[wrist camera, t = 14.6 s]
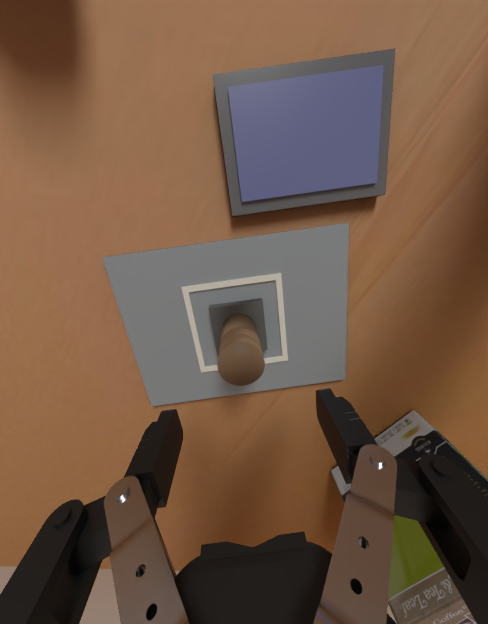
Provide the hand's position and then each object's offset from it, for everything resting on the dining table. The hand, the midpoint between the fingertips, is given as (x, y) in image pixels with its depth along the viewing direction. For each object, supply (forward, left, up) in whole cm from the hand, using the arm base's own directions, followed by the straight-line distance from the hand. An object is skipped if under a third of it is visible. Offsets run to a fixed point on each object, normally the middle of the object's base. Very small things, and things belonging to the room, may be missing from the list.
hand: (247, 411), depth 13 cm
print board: (0, 0, -13) cm, 13 cm away
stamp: (0, 0, -13) cm, 13 cm away
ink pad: (-8, -16, -13) cm, 22 cm away
